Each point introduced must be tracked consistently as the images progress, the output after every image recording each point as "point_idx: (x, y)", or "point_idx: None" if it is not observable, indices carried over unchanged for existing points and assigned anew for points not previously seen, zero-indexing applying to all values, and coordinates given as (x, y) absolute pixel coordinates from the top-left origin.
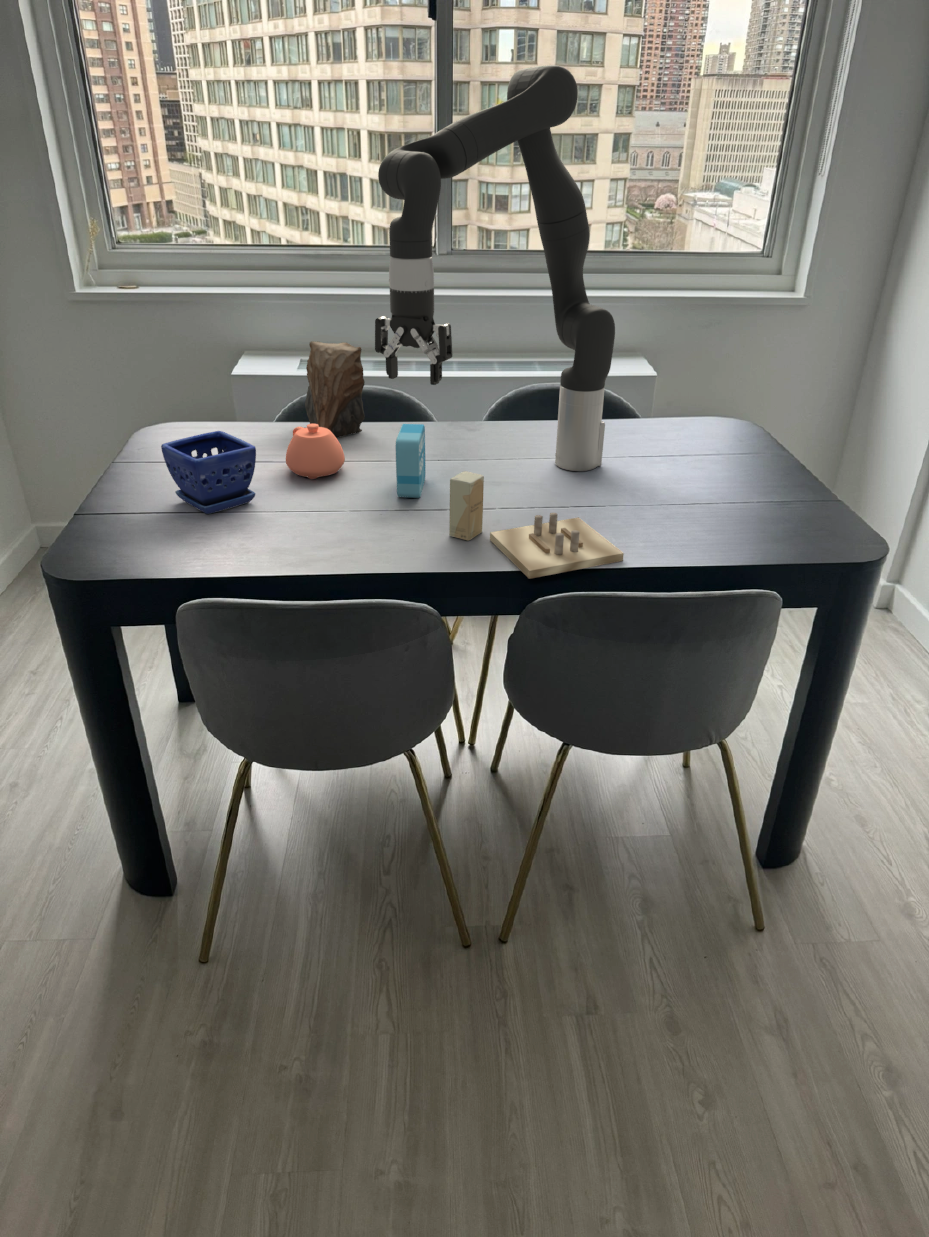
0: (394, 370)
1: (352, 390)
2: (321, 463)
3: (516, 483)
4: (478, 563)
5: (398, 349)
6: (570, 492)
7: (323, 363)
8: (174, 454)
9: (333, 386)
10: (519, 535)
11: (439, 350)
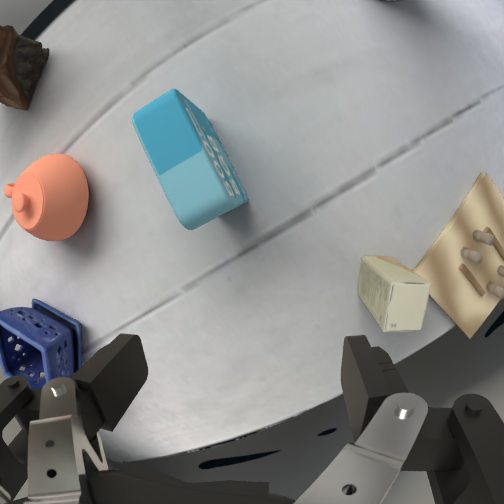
0: (130, 374)
1: (5, 49)
2: (74, 224)
3: (350, 62)
4: (414, 336)
5: (76, 405)
6: (429, 68)
7: None
8: None
9: None
10: (447, 266)
11: (435, 501)
